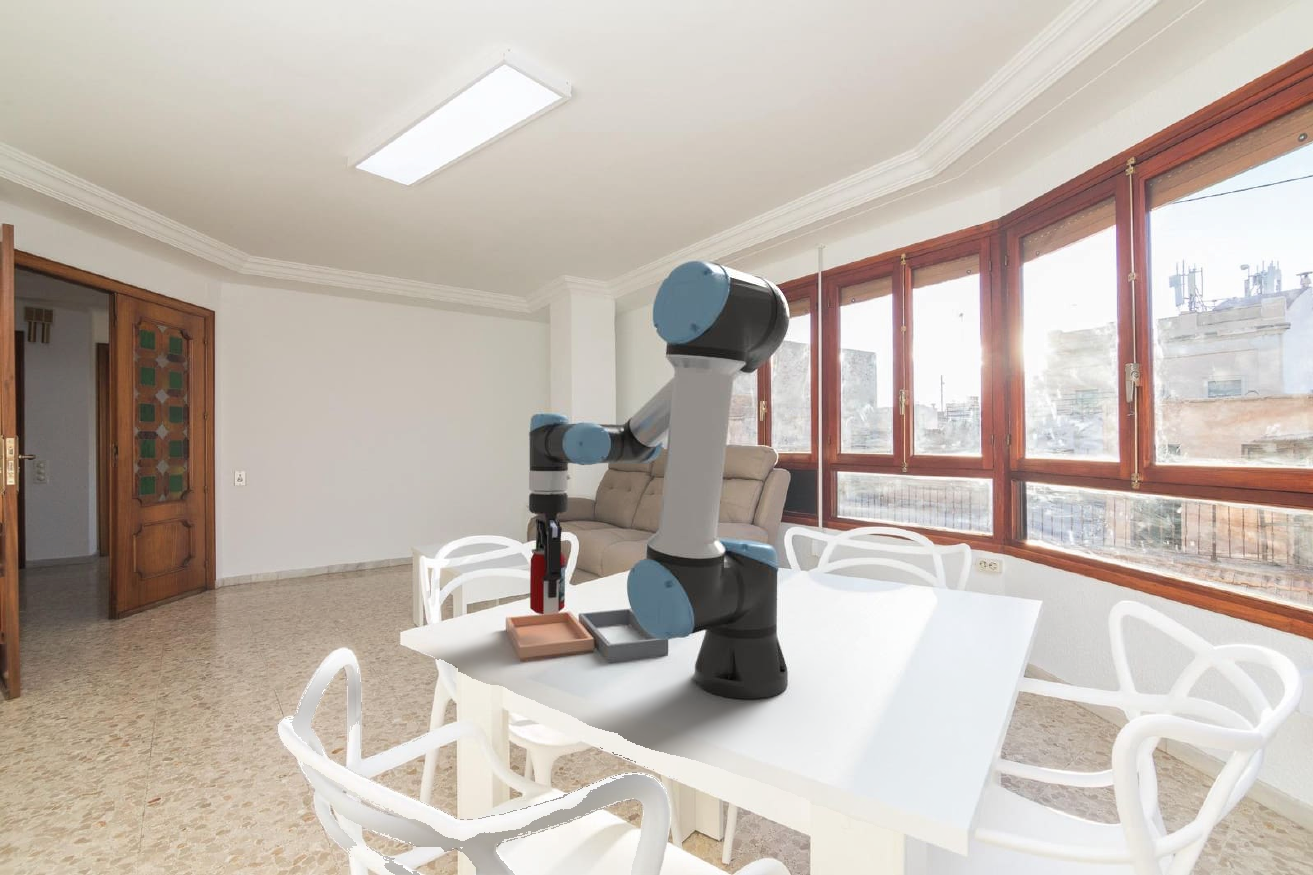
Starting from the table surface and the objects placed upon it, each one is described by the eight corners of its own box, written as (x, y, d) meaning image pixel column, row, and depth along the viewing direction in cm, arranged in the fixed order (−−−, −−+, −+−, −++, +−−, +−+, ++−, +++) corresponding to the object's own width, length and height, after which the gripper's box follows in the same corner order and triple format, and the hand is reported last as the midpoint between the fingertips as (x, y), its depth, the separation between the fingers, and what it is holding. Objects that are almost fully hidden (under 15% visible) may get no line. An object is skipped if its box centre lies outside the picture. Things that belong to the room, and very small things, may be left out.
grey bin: (668, 655, 111) (668, 638, 111) (607, 662, 107) (607, 645, 107) (630, 622, 131) (630, 608, 131) (578, 627, 127) (578, 613, 127)
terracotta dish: (593, 652, 112) (593, 639, 112) (519, 661, 107) (519, 647, 107) (570, 622, 130) (570, 611, 130) (505, 629, 125) (505, 617, 125)
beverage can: (561, 616, 115) (562, 553, 115) (526, 615, 115) (526, 553, 116) (567, 606, 122) (567, 547, 122) (534, 606, 122) (534, 547, 122)
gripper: (579, 496, 111) (577, 620, 111) (557, 487, 129) (555, 594, 129) (538, 497, 108) (536, 624, 108) (521, 488, 127) (520, 597, 127)
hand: (547, 608), depth 119 cm, fingers closed on beverage can, 7 cm apart
